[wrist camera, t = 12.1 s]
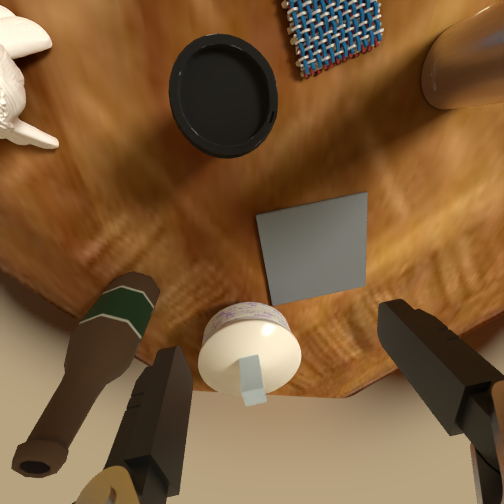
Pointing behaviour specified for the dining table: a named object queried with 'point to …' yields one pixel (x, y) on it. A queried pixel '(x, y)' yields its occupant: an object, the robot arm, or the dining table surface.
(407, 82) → the dining table surface
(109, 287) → the beer bottle
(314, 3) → the woven mat
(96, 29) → the dining table surface
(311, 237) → the mat
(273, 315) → the paper bowls
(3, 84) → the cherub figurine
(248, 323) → the lid
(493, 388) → the robot arm
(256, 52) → the coffee cup
